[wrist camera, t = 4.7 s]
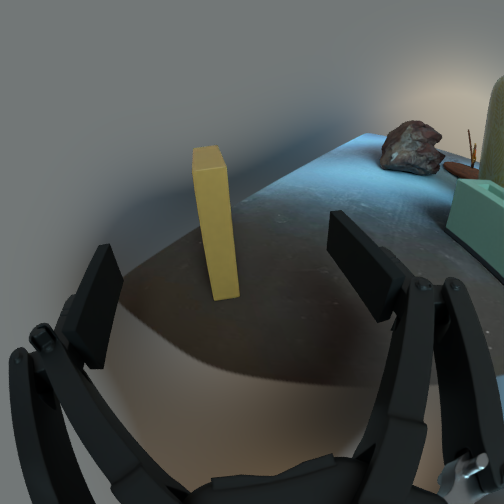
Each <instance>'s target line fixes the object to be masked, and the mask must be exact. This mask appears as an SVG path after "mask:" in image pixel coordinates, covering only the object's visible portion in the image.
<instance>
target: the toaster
mask: <svg viewBox="0 0 504 504" xmlns="http://www.w3.org/2000/svg"><path fill="white" fill-rule="evenodd" d="M445 232H446V233H447V234H448V235H450V236H451V237H452V238H453V239H454V240H456V241H457V242H458V243H459V244H460V245H462V246H463V247H464V248H465V249H466V250H467V251H469V252H470V253H471V254H472V255H473V256H474V257H475V258H476V259H478V260H479V261H480V262H481V263H482V264H483V265H484V266H485V267H486V268H487V269H488V270H489V271H490V272H491V273H492V274H493V275H494V276H495V277H497V278H498V279H499V280H500V281H501V283H502V284H503V285H504V188H502V187H501V186H499V185H497V184H496V183H494V182H492V181H491V180H476V179H457V183H456V188H455V192H454V197H453V201H452V205H451V209H450V213H449V217H448V221H447V224H446V228H445Z"/></svg>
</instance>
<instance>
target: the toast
mask: <svg viewBox="0 0 504 504" xmlns="http://www.w3.org/2000/svg"><path fill="white" fill-rule="evenodd" d="M192 175H193V182H194V189H195V195H196V202H197V209H198V215H199V221H200V227H201V233H202V239H203V245H204V251H205V256H206V262H207V267H208V272H209V278H210V283H211V288H212V293H213V298H214V301H217V300H223V299H230V298H236V297H240V292H239V283H238V274H237V265H236V256H235V246H234V237H233V227H232V217H231V207H230V197H229V187H228V177H227V167H226V164H225V162H224V160H223V157H222V155H221V152H220V150H219V148H218V146H217V145H215V146H207V147H200V148H194V149H193V162H192Z"/></svg>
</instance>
